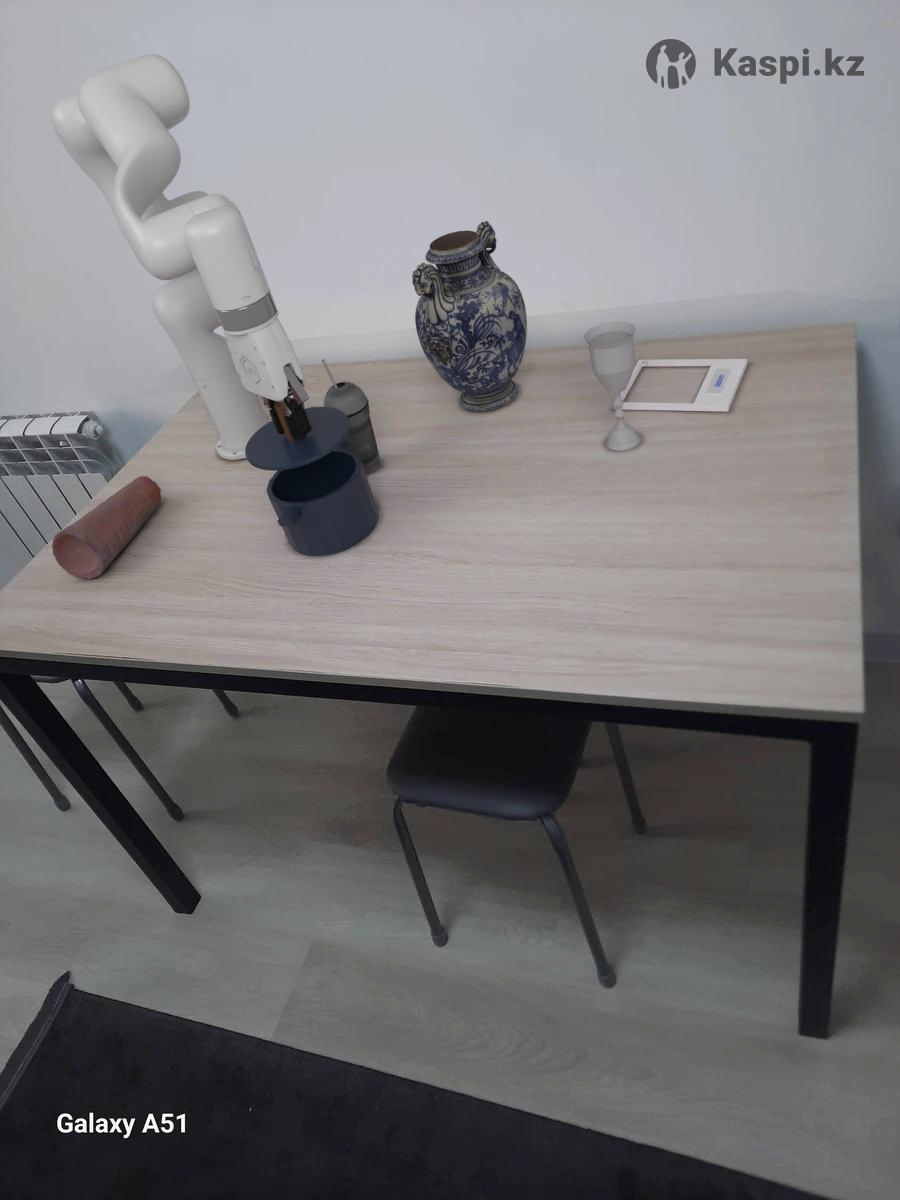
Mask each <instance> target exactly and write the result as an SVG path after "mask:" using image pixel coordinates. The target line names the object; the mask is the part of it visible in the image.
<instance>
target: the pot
mask: <svg viewBox="0 0 900 1200" xmlns="http://www.w3.org/2000/svg"><path fill="white" fill-rule="evenodd" d="M351 448H352V447H351V445H350V443H341V444H340V445H339V446H338V447H337V448H335V449H334V450H333V451H332V452H330V453H329V454H327V455H325V456H324V457H322V458H320V459H318V460H316V461H314V462H311V463H309V464H306V465H303V466H300V467H296V468H292V469H287V470H277V471H276V472H275V473H274V474H273V475H272V476H271V477H270V478H269V480H268V484H267V487H266V489H265V490H266V491H265V492H266V494H267V496H268V500H269V502H270V504H271V506H272V508H273V510H274V512H275V515H276V517H277V524H278V526H279V527H281V528H282V530H283V532H284V534H285V537H286V539H287V541H288V543H289V546H290V547H291V548H292V549H293V550H294V551H295V552H296V553H298V554H300V555H303V556H308V557H325V556H331V555H334V554H338V553H342V552H344V551H346V550H349V549H351V548H353V547H355V546H356V545H358V544H360V543H361V542H362V541H364V540H365V539H366V538H367V537H368V536H370V534H372V532H373V531H374V530H375V528H376V526H377V524H378V523H379V519H380V513H379V507H378V505H377V502H376V499H375V496H374V494H373V491H372V488H371V485H370V482H369V480H368V477H367V474H366V473H365V471H364V468H363V465H362V462H361V460H360V459H359V457H358V455H357V454H355V453H353V452H351V451H350V449H351Z"/></svg>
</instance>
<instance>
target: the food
mask: <svg viewBox="0 0 900 1200" xmlns="http://www.w3.org/2000/svg"><path fill="white" fill-rule="evenodd" d="M161 491H162V489H161V487H160V486H159V485H158V483H157V482H156V481H154V480H153V479H151V478H150V477H149V476H148V475H147V476H146V475H142V476H138V477H136V478H135V479H133V480H132V481H131V482H129V483H127V484H126V485H125V486H123V487H122V488H120V489H119V490H118V491H116V492H115V493H114V494H112V495H110V496H109V497H108V498H107V499H106V500H105V501H103V502H101V503H100V504H98V505H97V506H95V508H93V509H92V510H90V511H89V512H87V513H85V515H83V516H82V517H81V518H79V519H77V520H76V521H75V522H73V523H71V524H70V525H69V526H67V527H65V528H63V529H61V530H60V531H59V532H57V533H56V534H55V535H54V537H53V539H52V544H51V547H52V555H53V557H54V558H55V561H56V563H57V564H58V565H59V567H61V568H62V569H63V570H64V571H66V572H67V573H68V574H69V575H71V576H74V577H76V578H78V579H88V580H93V579H95V578H98V577H100V576H101V575H102V574H103V573H104V571H106V569H107V568H108V567H109V566H110V565H111V564H112V563H113V561H114V560H115V559H116V558H117V556H118V555H119V554H120V553H121V552H122V551H123V550H124V549H125V547H126V546H127V545H128V544H129V543H130V542H131V541H132V539H133V537H134V536H135V535H136V534H138V532H139V531H140V529H141V528H142V527H143V526H144V524H145V523H146V521H147V520H148V519H149V517H150V516H151V515H153V513H154V512H155V511H156V509H157V508H158V507H159V505H161V502H162V495H161Z"/></svg>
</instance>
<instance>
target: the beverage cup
mask: <svg viewBox="0 0 900 1200" xmlns="http://www.w3.org/2000/svg"><path fill="white" fill-rule="evenodd" d="M321 363H322V366H323V367H324V369H325V371H326V373H327V376H328V378H329V379H330V382H331V384H332V385H331V386H330V387H329V388H328V389H327V391H326V393H325V396H324V401H323V407H331V408H335V409H338V410H340V411H342V412H343V413H345V414H346V416H347V417H348V420H349V423H350V429H349V432H348V434H347V436H346V438H345V439H344V440H343V442H342V443H350V445H351V447H352V448H351V449H350V451H351V452H353V453H355V454H357V455H358V457H359V459H360V460H361V462H362V465H363V468H364V471H365V473H366V475H369V474H372V473H375V472H376V471H377V470H378V469H380V468H381V464H382V463H381V459H380V452H379V449H378V444H377V440H376V435H375V432H374V427H373V422H372V419H371V415H370V414H371V411H370V405H369V398H368V397H367V395H366V394H365V391H364V390H363V389H362V388H361V387H360V386H358V385H357V384H355V383H354V382H351V381H339V382H336V381H335V378H334V376H333V375H332V372H331V370H330V369H329V367H328V364H327V362H326V360H325V359H324V358H323V359H321Z"/></svg>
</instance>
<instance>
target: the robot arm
mask: <svg viewBox="0 0 900 1200" xmlns="http://www.w3.org/2000/svg"><path fill="white" fill-rule="evenodd" d="M183 79H184V78H182V76H181V74H180V72H179V71H178V69H177V68H176V67H175V66H174V65H173V64H172V63H171V61H169V60H168V59H167V58H166V57H164V56H162V55H160V54H157V53H148V54H144V55H141V56H138V57H136V58H132V59H130V60H126V61H124V62H121V63H118V64H115V65H112V66H109V67H106V68H103V69H101V70H99V71H96V72H94V73H92V74H91V75H90V76H88V77H87V78H85V80H84V81H83V82H82V83H81V85H80V87H79V89H78V90H76V91H73V92H71V93H69V94H67V95H65V96H63V98H60V99H59V100H58V101H57V102H56V103H55V104H54V105H53V107H52V108H51V112H50V119H51V124H52V126H53V130H54V132H55V134H56V136H57V138H58V139H59V141H60V142H61V144H62V146H63V147H64V149H65V151H66V152H67V153H68V155H69V156H70V157H71V159H72V160H73V161H74V162H75V163H76V165H77V166H78V167H79V168H80V169H81V170H82V172H84V173H85V174H86V175H87V176H88V178H90V180H91V181H92V182H93V184H95V185H96V186H97V188H98V189H99V191H100V192H101V193H102V195H103V196H104V198H105V199H106V201H107V203H108V206H109V208H110V209H111V211H112V213H113V216H114V217H115V221H116V223H117V225H118V227H119V230H120V231H121V234H122V235H123V237H124V239H125V240H126V242H127V243H128V245H129V247H130V249H131V250H132V252H133V254H134V256H135V257H136V259H137V261H138V262H139V264H140V265H141V267H143V269H144V270H145V271H146V272H148V273H149V274H150V275H151V276H153V277H154V278H156V279H158V280H160V281H166V282H165V283H163V284H162V285H160V286H159V287H158V288H157V289H156V290H155V292H154V293H153V295H152V298H151V306H152V310H153V313H154V315H155V317H156V319H157V320H158V322H159V324H160V325H161V327H162V328H163V330H164V331H165V333H166V334H167V336H168V337H169V339H170V340H171V342H172V344H173V345H174V347H175V349H176V350H177V352H178V354H179V356H180V358H181V360H182V361H183V362H182V363H184V366H185V368H186V370H187V372H188V374H189V376H190V378H191V380H192V382H193V385H194V387H195V388H196V391H197V394H198V395H199V397H200V399H201V401H202V404H203V405H204V408H205V410H206V412H207V414H208V416H209V418H210V420H211V423H212V425H213V426H214V429H215V431H216V433H217V435H218V437H219V439H218V440H217V442H216V444H215V451H216V453H217V456H219V457H220V458H222V459H223V460H228V461H238V460H245V459H247V457H246V455H245V448H246V445H247V443H248V441H249V439H250V438H251V437H252V435H253V434H254V433H255V432H256V431H258V430H259V429H260V428H261V427H263V426H264V425H265V424H267V423H269V422H270V421H272V420H273V422H274V425H275V427H276V429H277V432H278V433H279V434H284V433H285V432H284V429H283V427H282V424H281V422H280V419H279V417H278V415H277V412H276V410H275V407H274V403H275V402H276V401H278V402H280V404H281V406H282V408H283V410H284V412H285V414H286V415H284V416H283V417H284V419H285V422H286V424H287V427H288V429H289V432H290V434H291V437H292V439H293V440H298V439H300V438H301V437H303V436H304V435H306V434H307V433H309V432H310V431H311V429H312V428H311V425H310V423H309V420H308V418H307V415H306V412H305V410H304V409H305V402H306V401H308V400H309V399H310V396H309V394H308V393H307V391H306V390H305V385H306V380H305V375H304V373H303V369H302V366H301V364H300V361H299V359H298V357H297V355H296V352H295V350H294V347H293V346H292V343H291V340H290V339H289V337H288V335H287V332H286V331H285V329H284V327H283V324H282V323H281V321H280V319H279V318H278V317H279V314H280V313H279V310H278V308H277V305H276V302H275V299H274V296H273V294H272V291H271V288H270V286H269V283H268V280H267V278H266V275H265V273H264V270H263V266H262V265H261V262H260V259H259V256H258V253H257V252H256V248H255V246H254V243H253V239H252V238H251V236H250V232H249V229H248V227H247V224H246V222H245V220H244V217H243V215H242V213H241V211H240V209H239V207H238V206H237V204H236V203H235V202H234V201H233V200H230V199H229V198H228V197H227V196H225V194H224V195H223V194H222V193H211V194H208V193H207V192H205V191H200V190H194V191H190V192H187V193H185V194H182V195H179V196H177V197H174V198H171V199H168V198H167V197H166V196H165V194H164V193H163V192H164V191H165V190H166V189H167V188H168V186H169V185H171V183H172V182H173V180H174V179H175V178H176V176H177V174H178V172H179V170H180V167H181V162H182V154H181V150H180V146H179V144H178V142H177V141H176V139H175V138H174V136H173V135H172V133H171V132H170V131H169V130H171V129H173V128H175V127H176V126H178V125H179V124H181V123H182V122H183V121H185V119H186V118H187V117H188V115H189V114H190V108H191V101H190V95H189V92H188V88H187V86H186V83H185V82H184V80H183ZM220 327H221V328H222V330H223V333H224V336H223V335H221V334H219V333H217V332H215V330H216V329H218V328H220ZM259 396H260V397H261V398H262V401H263V404H264V407H265V408H266V409H267V410H268V412H269V416H270V417H271V419H270V418H269V419H268V416H267V415H266V414H267V413H266V412H265V410H264V408H263V404H262V402H261V400H260V398H259ZM291 396H292V397H291ZM288 397H291V398H292V399H291V400H289V403H288V402H287V400H286V398H288Z"/></svg>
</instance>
